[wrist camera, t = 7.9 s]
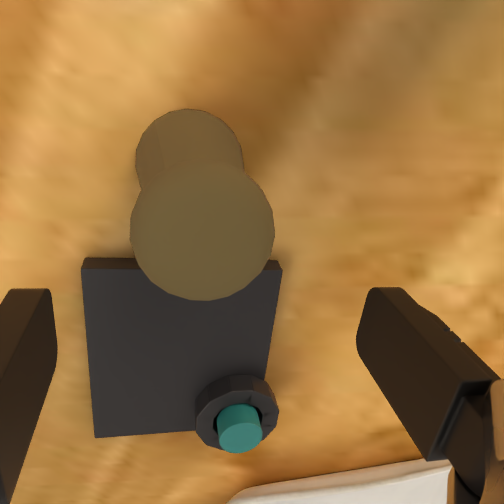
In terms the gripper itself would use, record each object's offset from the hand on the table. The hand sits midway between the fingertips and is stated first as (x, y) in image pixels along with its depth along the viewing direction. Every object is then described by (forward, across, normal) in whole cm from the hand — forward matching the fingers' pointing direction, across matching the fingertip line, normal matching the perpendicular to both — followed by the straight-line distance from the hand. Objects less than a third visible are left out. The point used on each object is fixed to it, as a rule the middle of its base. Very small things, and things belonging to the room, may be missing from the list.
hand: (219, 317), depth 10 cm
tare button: (+12, -4, +17) cm, 21 cm away
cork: (+15, 0, 0) cm, 15 cm away
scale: (+14, 0, +13) cm, 19 cm away
